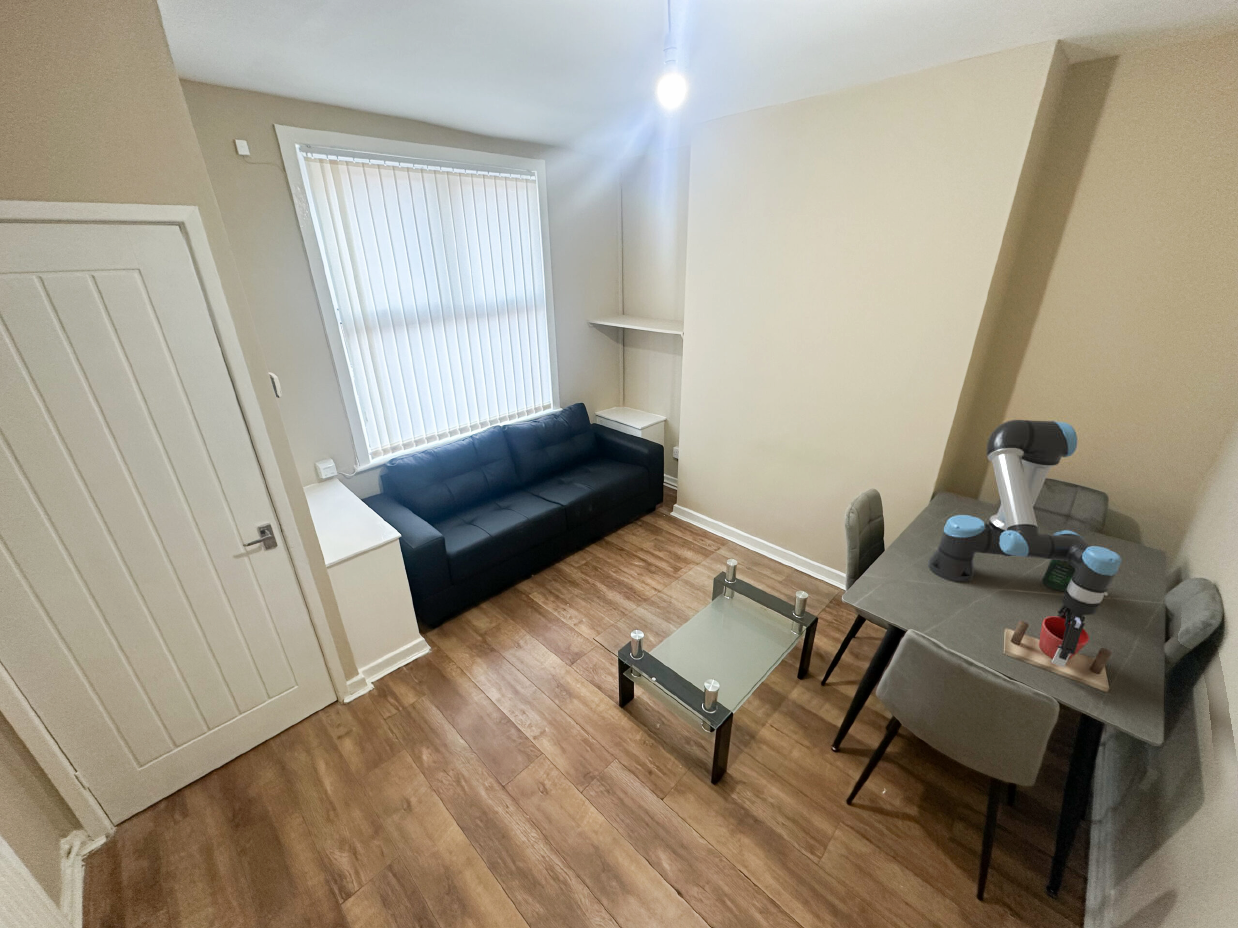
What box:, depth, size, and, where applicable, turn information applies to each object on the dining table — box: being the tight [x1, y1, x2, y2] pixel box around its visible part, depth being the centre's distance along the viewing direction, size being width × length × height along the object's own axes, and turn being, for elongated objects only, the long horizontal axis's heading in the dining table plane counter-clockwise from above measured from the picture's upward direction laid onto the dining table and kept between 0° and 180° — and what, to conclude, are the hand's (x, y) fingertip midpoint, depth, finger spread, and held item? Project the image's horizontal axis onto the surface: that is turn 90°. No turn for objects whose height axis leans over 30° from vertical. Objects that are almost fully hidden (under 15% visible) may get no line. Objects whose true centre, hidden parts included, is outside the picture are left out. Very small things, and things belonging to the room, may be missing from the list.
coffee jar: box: [1041, 559, 1075, 592], centre depth 175 cm, size 10×8×19 cm
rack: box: [1003, 620, 1113, 693], centre depth 145 cm, size 24×12×10 cm, turn 52°
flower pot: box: [1039, 615, 1090, 660], centre depth 146 cm, size 11×11×10 cm
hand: (1056, 650), depth 146 cm, fingers open, 13 cm apart
